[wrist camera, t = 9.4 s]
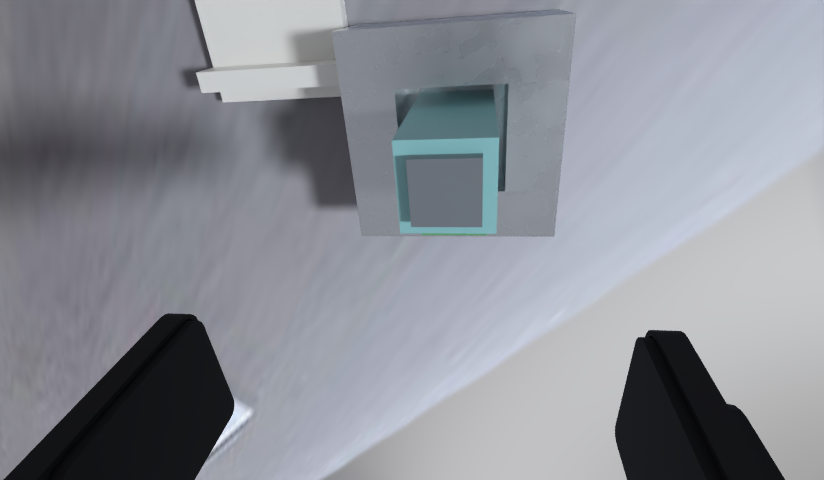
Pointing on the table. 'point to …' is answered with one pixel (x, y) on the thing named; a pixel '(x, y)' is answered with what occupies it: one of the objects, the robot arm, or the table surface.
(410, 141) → the plug
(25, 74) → the table surface
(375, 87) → the port
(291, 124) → the table surface
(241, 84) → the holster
